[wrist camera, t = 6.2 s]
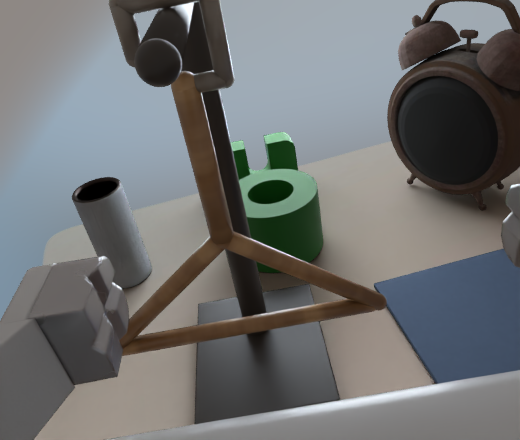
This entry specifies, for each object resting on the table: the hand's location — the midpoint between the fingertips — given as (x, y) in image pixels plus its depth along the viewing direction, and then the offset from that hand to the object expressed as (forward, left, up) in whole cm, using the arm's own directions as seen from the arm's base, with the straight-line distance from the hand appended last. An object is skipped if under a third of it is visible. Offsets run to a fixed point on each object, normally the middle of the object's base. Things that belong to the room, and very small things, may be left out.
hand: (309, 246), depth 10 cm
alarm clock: (+33, -24, -24) cm, 47 cm away
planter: (+33, +12, -24) cm, 42 cm away
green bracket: (+36, -4, -24) cm, 43 cm away
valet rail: (+15, +1, -24) cm, 28 cm away
